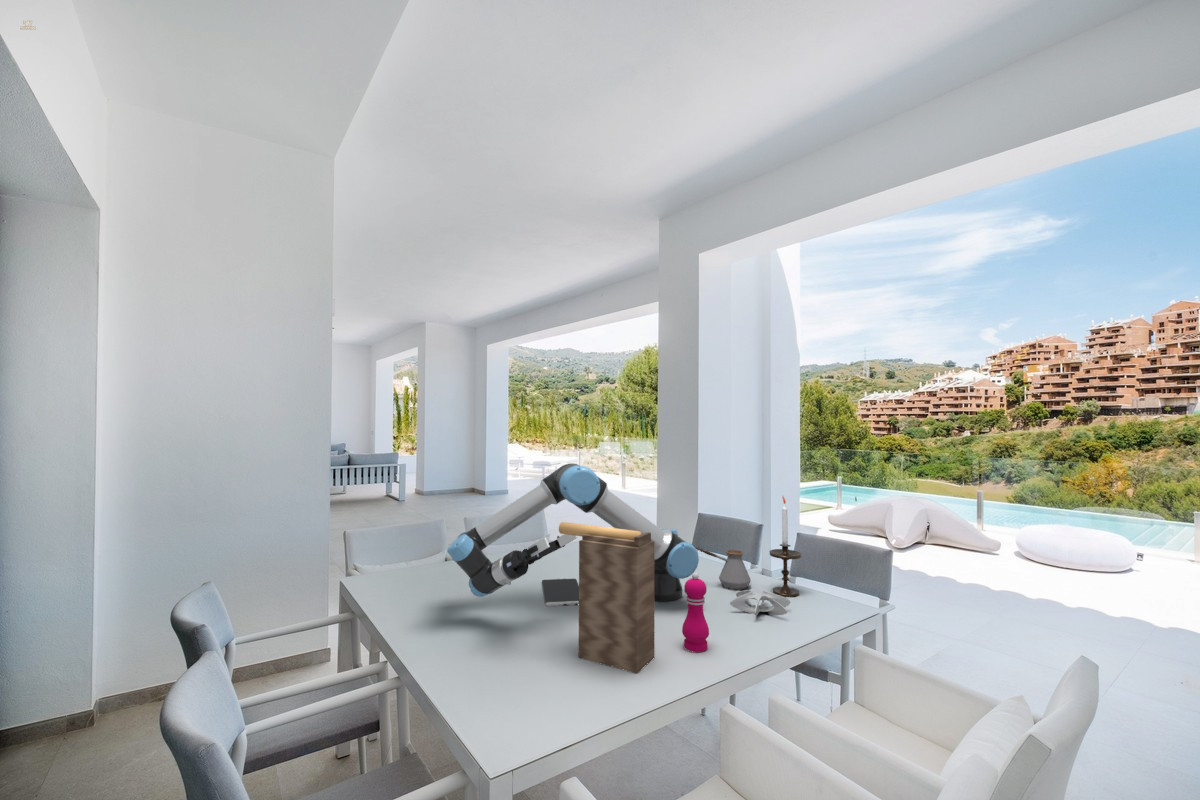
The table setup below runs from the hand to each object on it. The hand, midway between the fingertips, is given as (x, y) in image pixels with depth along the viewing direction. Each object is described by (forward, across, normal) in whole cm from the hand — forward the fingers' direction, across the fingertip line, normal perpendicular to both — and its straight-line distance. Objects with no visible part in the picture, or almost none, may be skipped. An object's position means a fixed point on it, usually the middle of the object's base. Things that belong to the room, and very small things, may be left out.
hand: (561, 537), depth 147 cm
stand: (0, 0, -34) cm, 34 cm away
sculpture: (+20, -54, -46) cm, 74 cm away
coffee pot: (+4, -74, -36) cm, 82 cm away
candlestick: (+22, -79, -47) cm, 95 cm away
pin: (+10, -1, -5) cm, 12 cm away
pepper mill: (+13, -17, -42) cm, 47 cm away
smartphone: (-37, -36, -13) cm, 54 cm away
